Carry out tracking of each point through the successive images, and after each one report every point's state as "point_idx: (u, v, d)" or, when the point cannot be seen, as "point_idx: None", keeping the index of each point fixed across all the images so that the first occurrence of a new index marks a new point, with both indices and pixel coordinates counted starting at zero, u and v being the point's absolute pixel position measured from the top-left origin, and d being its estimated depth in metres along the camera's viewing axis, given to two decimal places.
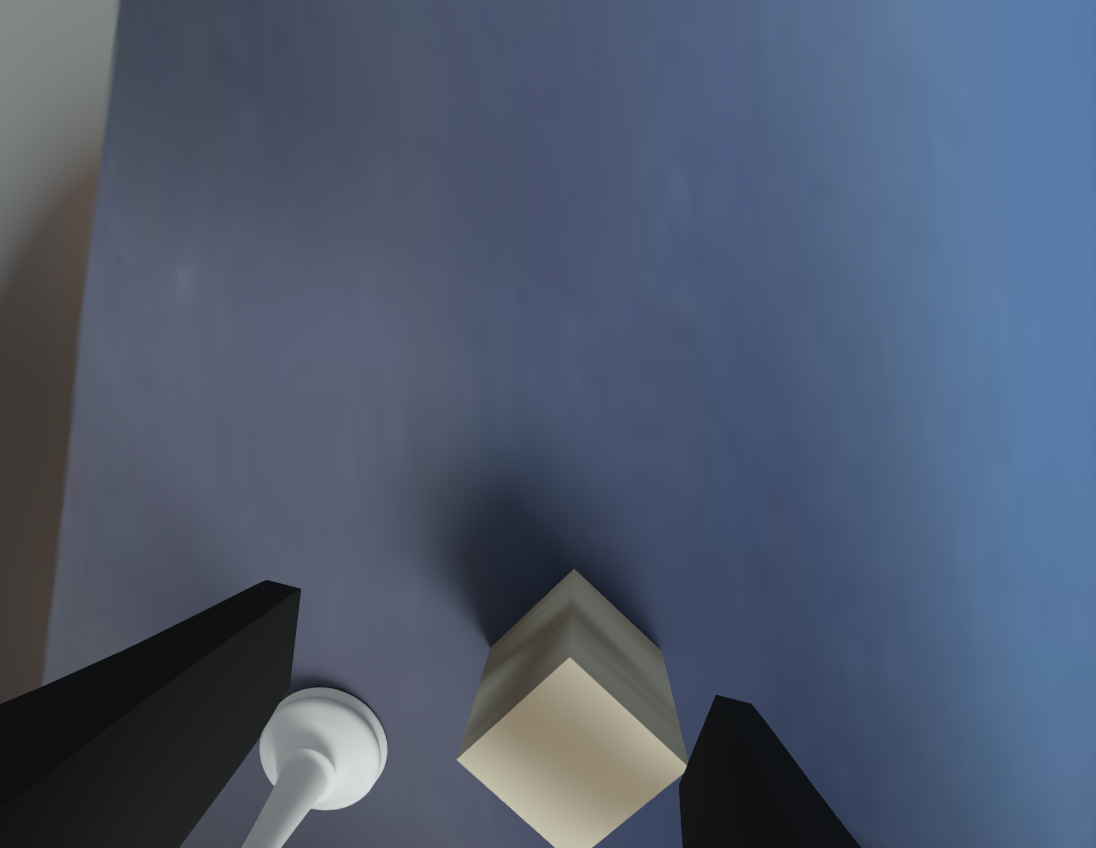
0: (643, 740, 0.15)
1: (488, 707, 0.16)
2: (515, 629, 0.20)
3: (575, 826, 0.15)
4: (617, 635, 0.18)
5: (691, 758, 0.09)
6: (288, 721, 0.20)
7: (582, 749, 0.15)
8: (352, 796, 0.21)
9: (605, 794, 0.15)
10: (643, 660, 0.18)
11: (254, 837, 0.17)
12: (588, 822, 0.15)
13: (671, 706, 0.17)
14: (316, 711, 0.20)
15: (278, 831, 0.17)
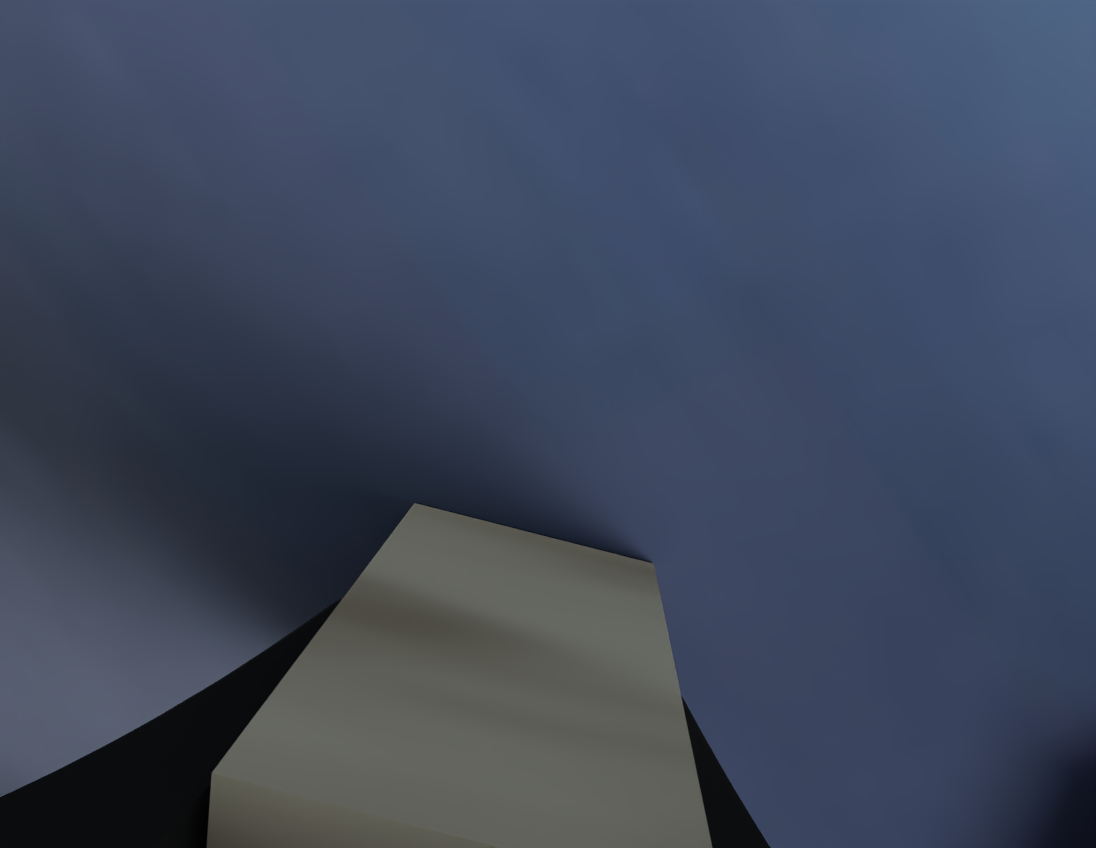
0: None
1: None
2: None
3: None
4: (507, 592, 0.08)
5: None
6: None
7: None
8: None
9: None
10: (587, 614, 0.08)
11: None
12: None
13: (667, 696, 0.07)
14: None
15: None
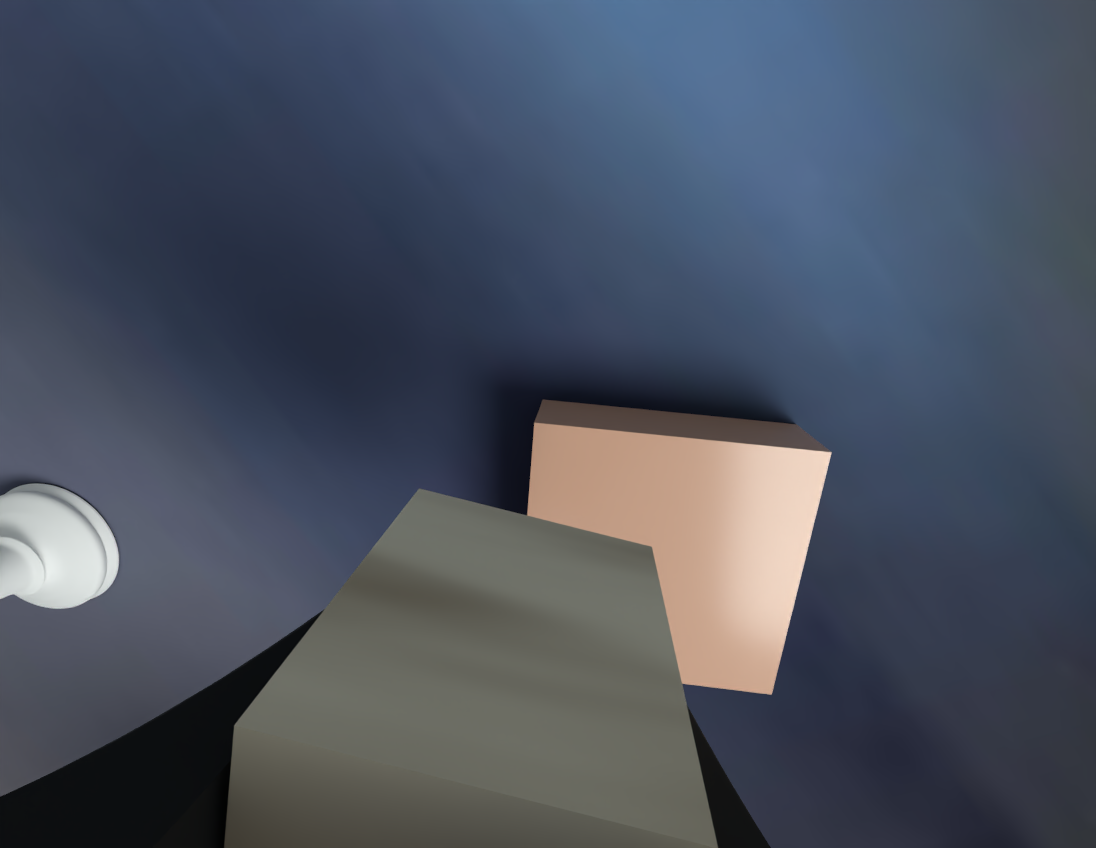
0: (554, 834, 0.05)
1: None
2: None
3: None
4: (510, 571, 0.08)
5: None
6: None
7: None
8: (85, 572, 0.20)
9: None
10: (588, 591, 0.08)
11: None
12: None
13: (664, 666, 0.07)
14: None
15: None
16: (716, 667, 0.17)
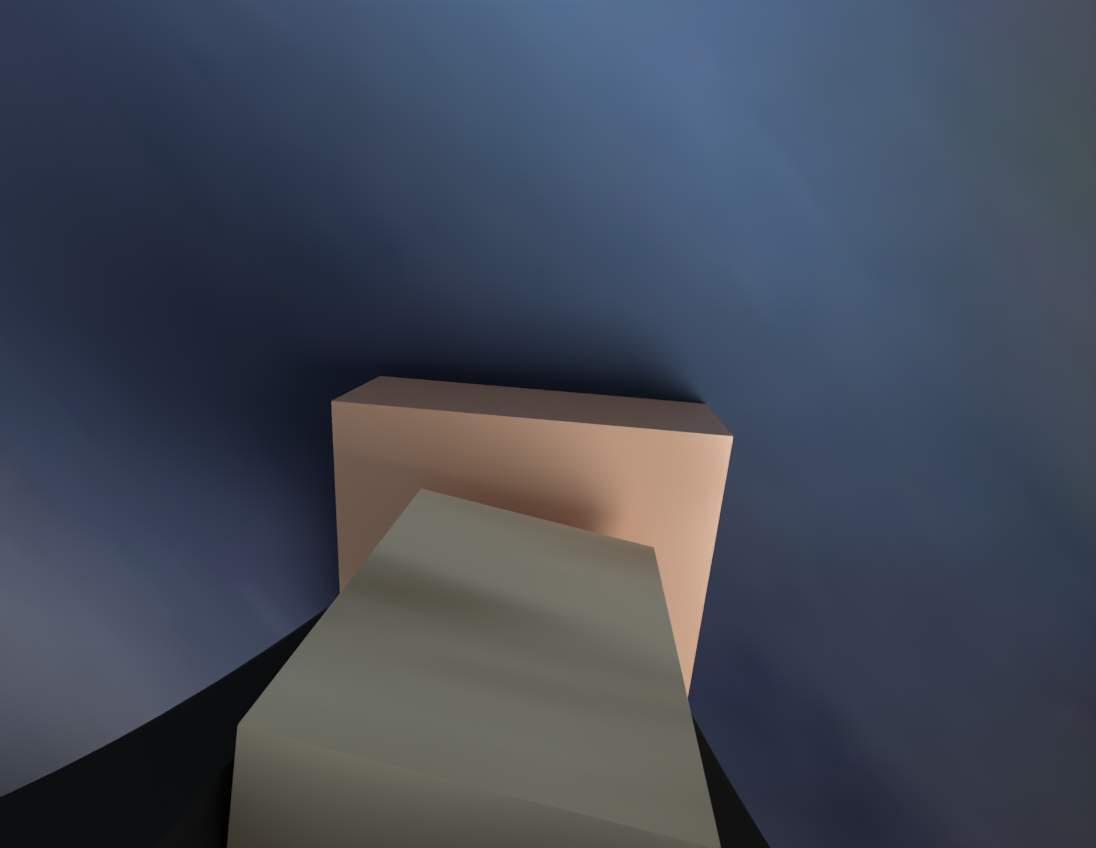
0: (556, 835, 0.05)
1: None
2: None
3: None
4: (513, 571, 0.08)
5: None
6: None
7: None
8: None
9: None
10: (590, 591, 0.08)
11: None
12: None
13: (667, 666, 0.07)
14: None
15: None
16: None
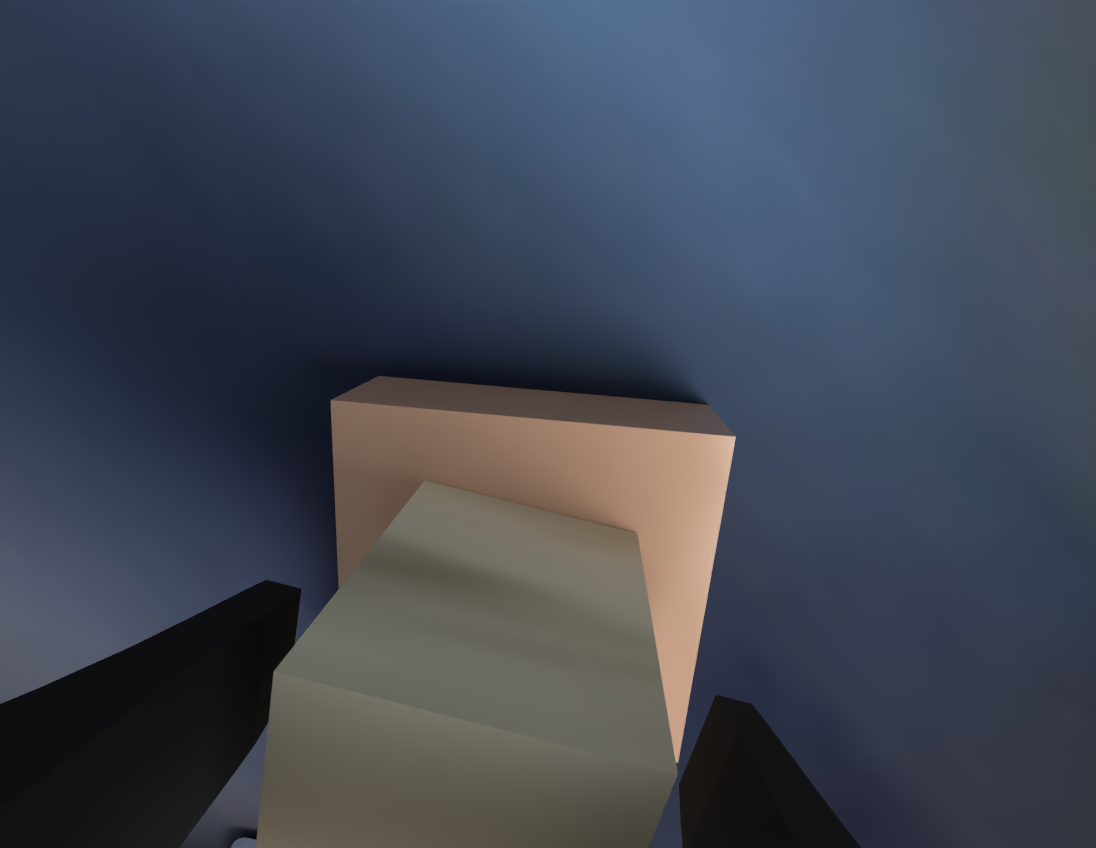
0: (541, 763, 0.06)
1: None
2: None
3: None
4: (507, 552, 0.09)
5: (691, 758, 0.09)
6: None
7: (439, 834, 0.06)
8: None
9: None
10: (576, 571, 0.09)
11: None
12: None
13: (642, 633, 0.08)
14: None
15: None
16: None
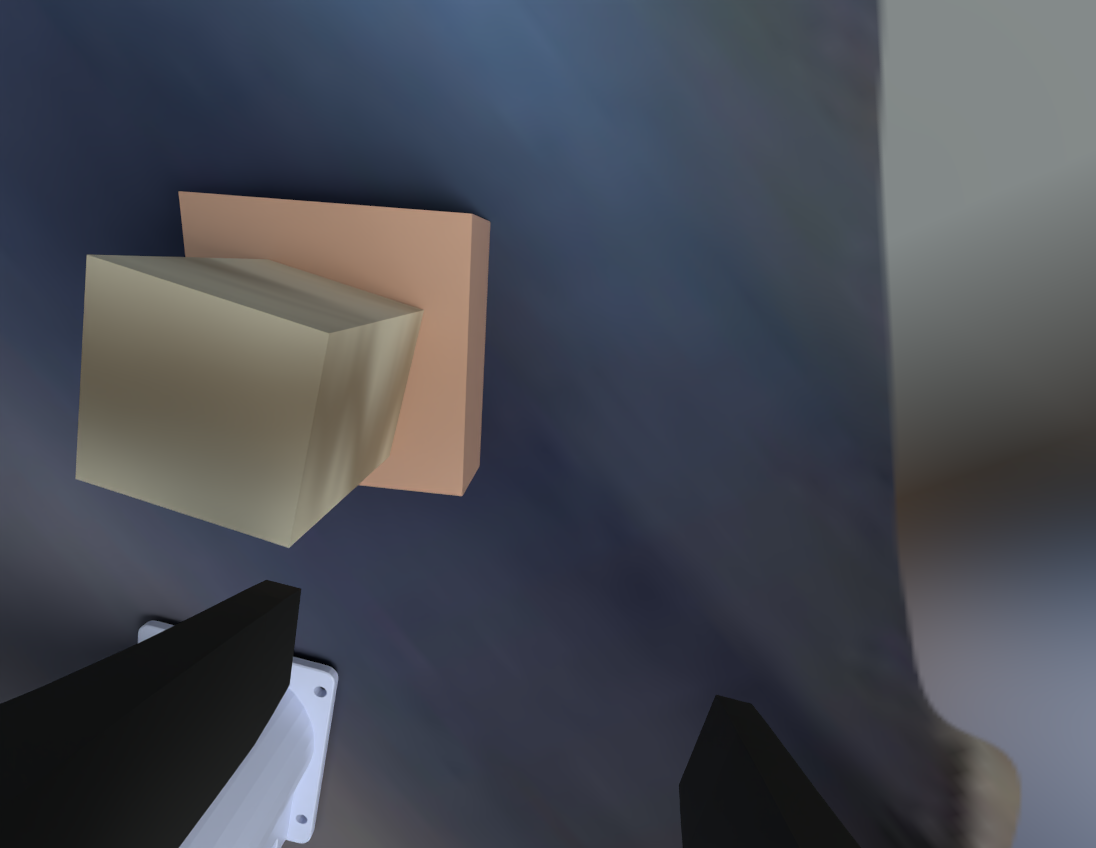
0: (249, 325, 0.10)
1: None
2: None
3: (258, 495, 0.11)
4: (302, 284, 0.13)
5: (691, 758, 0.09)
6: None
7: (192, 383, 0.10)
8: None
9: (260, 431, 0.10)
10: (350, 300, 0.13)
11: None
12: (268, 481, 0.11)
13: (370, 318, 0.12)
14: None
15: None
16: (403, 466, 0.16)
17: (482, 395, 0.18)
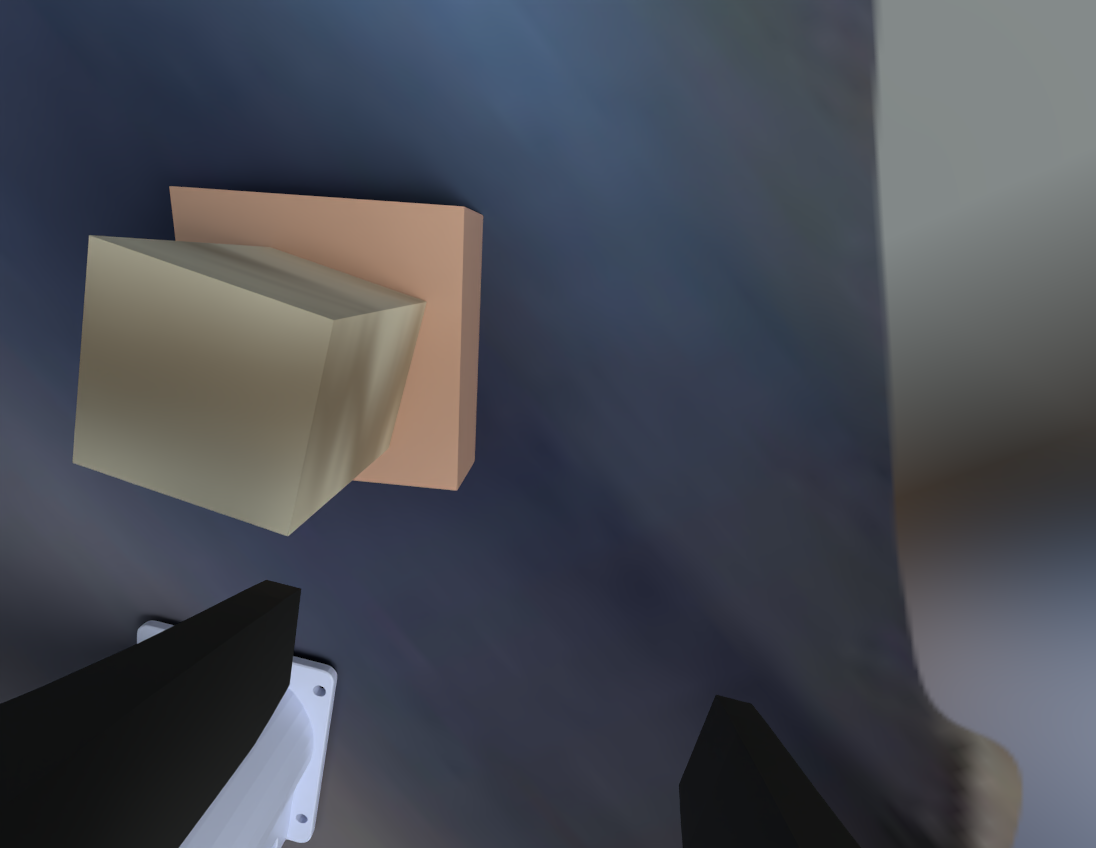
0: (253, 310, 0.10)
1: None
2: None
3: (257, 483, 0.11)
4: (305, 272, 0.13)
5: (691, 758, 0.09)
6: None
7: (193, 368, 0.10)
8: None
9: (261, 418, 0.10)
10: (353, 289, 0.13)
11: None
12: (268, 469, 0.10)
13: (373, 307, 0.12)
14: None
15: None
16: (397, 461, 0.16)
17: None
